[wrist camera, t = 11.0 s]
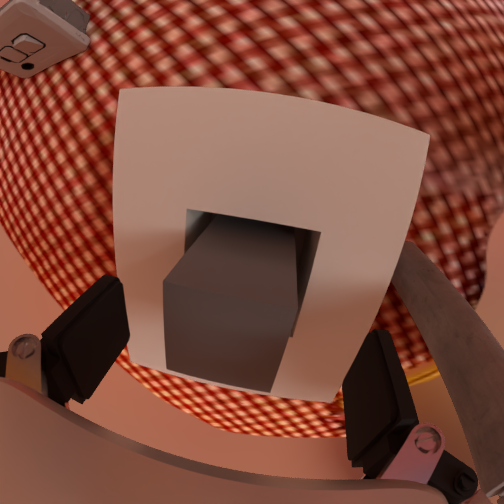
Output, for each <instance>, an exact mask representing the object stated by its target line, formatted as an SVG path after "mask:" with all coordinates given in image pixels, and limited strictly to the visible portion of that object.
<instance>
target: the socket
mask: <svg viewBox="0 0 504 504" xmlns="http://www.w3.org/2000/svg"><path fill="white" fill-rule="evenodd" d="M429 140H430V135H429V134H427V133H424V132H422V131H419V130H416V129H414V128H411V127H408V126H405V125H403V124H400V123H397V122H394V121H391V120H388V119H385V118H382V117H378V116H375V115H372V114H368V113H365V112H361V111H358V110H354V109H350V108H346V107H342V106H338V105H334V104H329V103H325V102H320V101H315V100H310V99H305V98H300V97H294V96H288V95H282V94H275V93H268V92H260V91H251V90H242V89H230V88H215V87H184V86H171V87H141V88H126V89H120V92H119V100H118V108H117V117H116V128H115V140H114V157H113V229H114V247H115V260H116V271H117V277H118V278H119V279H120V282H121V283H122V284H123V288H124V296H125V304H126V311H127V317H128V324H129V330H130V339H129V341H128V343H127V346H128V351H129V356H130V361H131V362H133V363H136V364H139V365H142V366H145V367H148V368H151V369H154V370H158V371H161V372H164V373H168V374H171V375H175V376H179V377H182V378H186V379H190V380H194V381H198V382H202V383H206V384H210V385H215V386H219V387H224V388H229V389H234V390H239V391H244V392H250V393H256V394H262V395H268V396H275V397H282V398H290V399H299V400H308V401H319V402H332V400H333V399H334V397H335V395H336V394H337V392H338V390H339V389H340V387H341V385H342V383H343V380H344V378H345V376H346V374H347V372H348V370H349V368H350V367H351V365H352V363H353V361H354V359H355V357H356V355H357V353H358V351H359V349H360V347H361V345H362V343H363V341H364V339H365V337H366V335H367V333H369V330H370V328H371V326H372V324H373V322H374V320H375V317H376V315H377V313H378V310H379V308H380V306H381V303H382V301H383V299H384V296H385V294H386V291H387V289H388V286H389V284H390V281H391V278H392V276H393V273H394V270H395V268H396V265H397V262H398V259H399V256H400V253H401V250H402V247H403V244H404V241H405V238H406V235H407V232H408V229H409V225H410V222H411V219H412V215H413V212H414V208H415V204H416V200H417V197H418V193H419V189H420V184H421V180H422V176H423V171H424V167H425V162H426V157H427V151H428V146H429ZM218 214H224V215H230V216H236V217H242V218H248V219H254V220H260V221H265V222H271V223H277V224H282V225H288V226H293V227H294V231H295V250H296V272H297V300H298V310H297V313H296V317H295V320H294V323H293V326H292V330H291V333H290V336H289V339H288V342H287V345H286V348H285V351H284V354H283V357H282V360H281V363H280V366H279V369H278V372H277V375H276V378H275V381H274V384H273V386H272V389H271V392H270V393H268V392H262V391H256V390H251V389H245V388H240V387H235V386H231V385H226V384H221V383H217V382H213V381H208V380H204V379H200V378H196V377H193V376H189V375H185V374H182V373H178V372H174V371H171V370H168V369H166V357H165V341H164V319H163V280H164V279H165V277H166V276H167V275H168V274H169V272H170V271H171V270H172V269H173V268H174V266H175V265H176V264H177V263H178V261H179V260H180V259H181V258H182V256H183V255H184V254H185V253H186V252H187V250H188V249H189V248H190V247H191V246H192V244H193V243H194V242H195V241H196V240H197V238H198V237H199V236H200V235H201V234H202V232H203V231H204V230H205V229H206V228H207V227H208V225H209V224H210V223H211V222H212V221H213V220H214V218H215V217H216V216H217V215H218Z"/></svg>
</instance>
